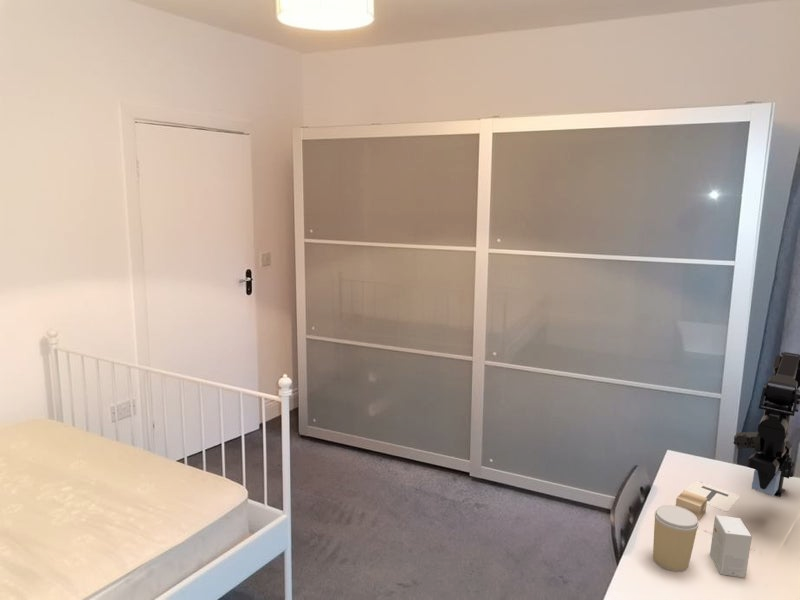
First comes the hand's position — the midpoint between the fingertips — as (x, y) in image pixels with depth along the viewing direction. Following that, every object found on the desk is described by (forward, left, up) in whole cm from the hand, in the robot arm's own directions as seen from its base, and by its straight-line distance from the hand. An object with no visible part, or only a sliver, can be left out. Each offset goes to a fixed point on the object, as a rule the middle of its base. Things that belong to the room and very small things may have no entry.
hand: (765, 485), depth 158 cm
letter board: (-5, -13, -11) cm, 18 cm away
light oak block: (+9, -14, -11) cm, 20 cm away
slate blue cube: (0, 0, -1) cm, 1 cm away
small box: (+26, 0, -11) cm, 29 cm away
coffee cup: (+34, -10, -11) cm, 37 cm away
